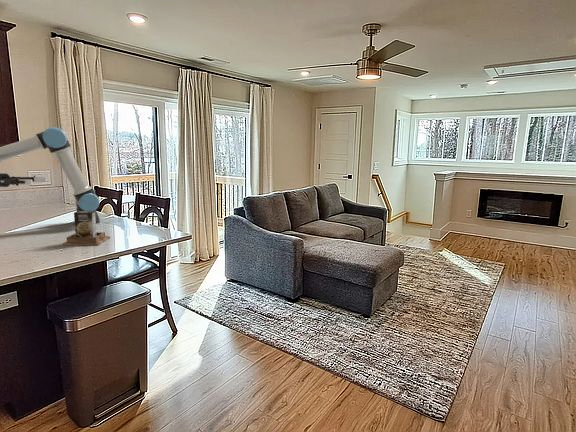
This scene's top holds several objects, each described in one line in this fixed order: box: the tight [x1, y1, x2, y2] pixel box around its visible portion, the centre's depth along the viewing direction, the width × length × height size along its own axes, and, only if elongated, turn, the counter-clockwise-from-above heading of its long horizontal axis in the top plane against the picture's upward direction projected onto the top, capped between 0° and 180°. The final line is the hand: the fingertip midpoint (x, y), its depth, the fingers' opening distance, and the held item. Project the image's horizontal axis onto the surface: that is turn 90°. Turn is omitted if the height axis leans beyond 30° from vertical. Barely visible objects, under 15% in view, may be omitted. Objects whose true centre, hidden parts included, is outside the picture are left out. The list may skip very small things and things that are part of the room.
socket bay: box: [62, 231, 111, 246], centre depth 204 cm, size 16×18×4 cm
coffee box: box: [73, 210, 97, 237], centre depth 202 cm, size 9×6×16 cm
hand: (39, 180), depth 207 cm, fingers open, 13 cm apart
